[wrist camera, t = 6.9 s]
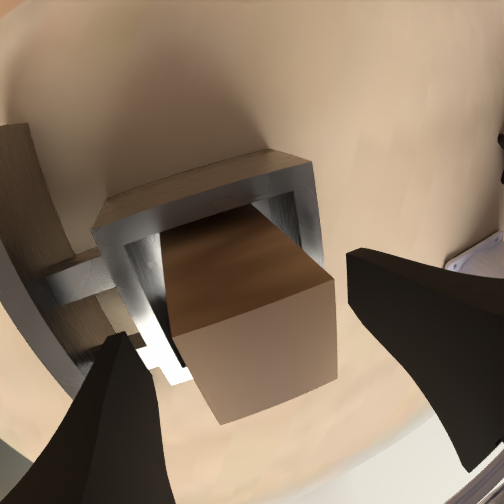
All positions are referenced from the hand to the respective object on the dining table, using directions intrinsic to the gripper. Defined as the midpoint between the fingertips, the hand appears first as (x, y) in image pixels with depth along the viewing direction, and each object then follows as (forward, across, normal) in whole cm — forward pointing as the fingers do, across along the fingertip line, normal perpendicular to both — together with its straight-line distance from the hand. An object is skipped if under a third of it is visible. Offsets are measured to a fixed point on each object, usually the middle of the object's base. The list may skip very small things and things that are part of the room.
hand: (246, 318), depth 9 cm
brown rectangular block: (+5, 0, 0) cm, 5 cm away
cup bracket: (+5, +2, 0) cm, 6 cm away
